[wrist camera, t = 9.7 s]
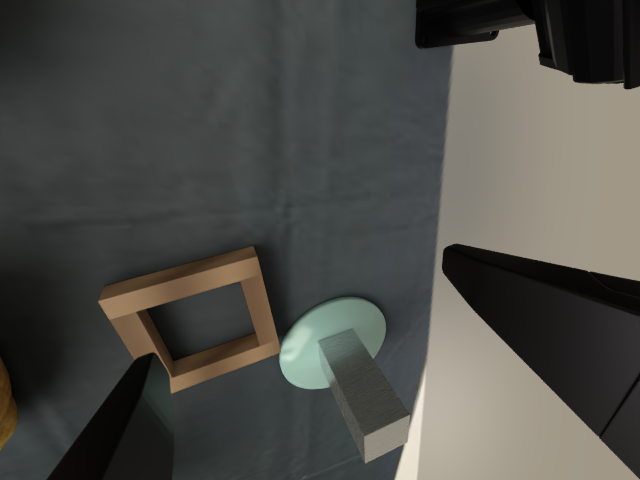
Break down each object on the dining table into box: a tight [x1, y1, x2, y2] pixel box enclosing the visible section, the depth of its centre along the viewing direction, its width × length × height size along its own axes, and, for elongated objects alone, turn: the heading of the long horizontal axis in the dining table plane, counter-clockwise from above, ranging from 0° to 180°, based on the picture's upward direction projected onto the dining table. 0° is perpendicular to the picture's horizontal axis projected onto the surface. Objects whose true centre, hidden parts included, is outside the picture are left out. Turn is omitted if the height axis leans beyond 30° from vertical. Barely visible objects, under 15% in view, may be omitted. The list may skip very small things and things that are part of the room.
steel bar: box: [317, 328, 410, 463], centre depth 25 cm, size 4×4×9 cm
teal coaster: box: [279, 296, 386, 389], centre depth 29 cm, size 11×11×1 cm
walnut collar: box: [98, 246, 281, 393], centre depth 22 cm, size 10×10×2 cm
